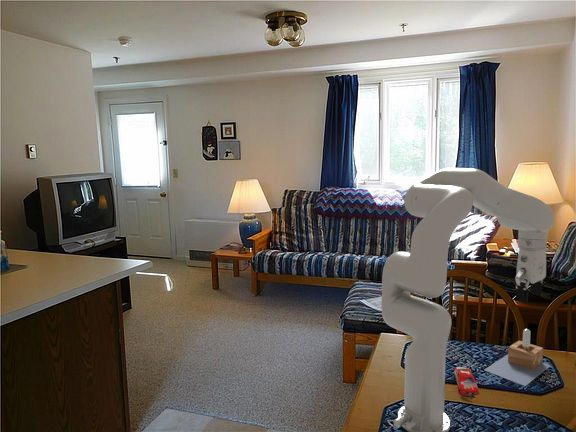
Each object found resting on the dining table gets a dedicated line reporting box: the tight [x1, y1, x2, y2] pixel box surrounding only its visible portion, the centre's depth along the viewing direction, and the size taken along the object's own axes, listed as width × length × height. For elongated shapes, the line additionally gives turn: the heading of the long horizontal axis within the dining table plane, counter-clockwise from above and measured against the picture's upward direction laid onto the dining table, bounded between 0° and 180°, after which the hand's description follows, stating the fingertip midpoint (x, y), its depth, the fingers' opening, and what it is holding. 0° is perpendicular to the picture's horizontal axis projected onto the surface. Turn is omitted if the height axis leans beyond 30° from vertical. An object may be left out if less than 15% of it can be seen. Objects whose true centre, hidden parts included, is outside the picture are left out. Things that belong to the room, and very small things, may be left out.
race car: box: [453, 366, 480, 398], centre depth 124 cm, size 13×5×4 cm, turn 167°
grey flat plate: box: [484, 354, 552, 387], centre depth 132 cm, size 18×12×1 cm, turn 128°
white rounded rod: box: [522, 328, 532, 351], centre depth 134 cm, size 2×2×11 cm
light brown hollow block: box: [508, 340, 544, 370], centre depth 134 cm, size 7×7×5 cm
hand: (528, 298), depth 131 cm, fingers open, 9 cm apart
